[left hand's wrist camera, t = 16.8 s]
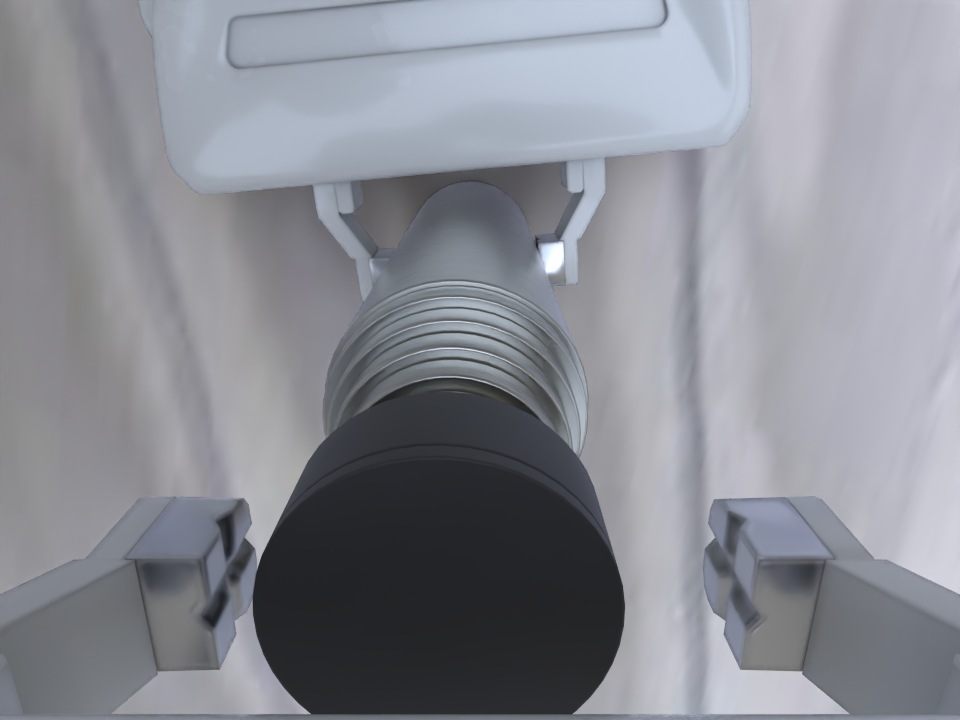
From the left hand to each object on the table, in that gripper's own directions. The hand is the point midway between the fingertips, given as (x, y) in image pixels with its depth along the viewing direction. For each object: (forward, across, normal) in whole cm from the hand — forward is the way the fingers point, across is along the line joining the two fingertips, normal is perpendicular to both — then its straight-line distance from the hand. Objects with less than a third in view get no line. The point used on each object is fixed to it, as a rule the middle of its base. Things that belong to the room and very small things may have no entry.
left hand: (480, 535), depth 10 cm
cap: (-2, 0, 0) cm, 2 cm away
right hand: (+17, 0, -1) cm, 17 cm away
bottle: (+23, 0, 0) cm, 23 cm away
